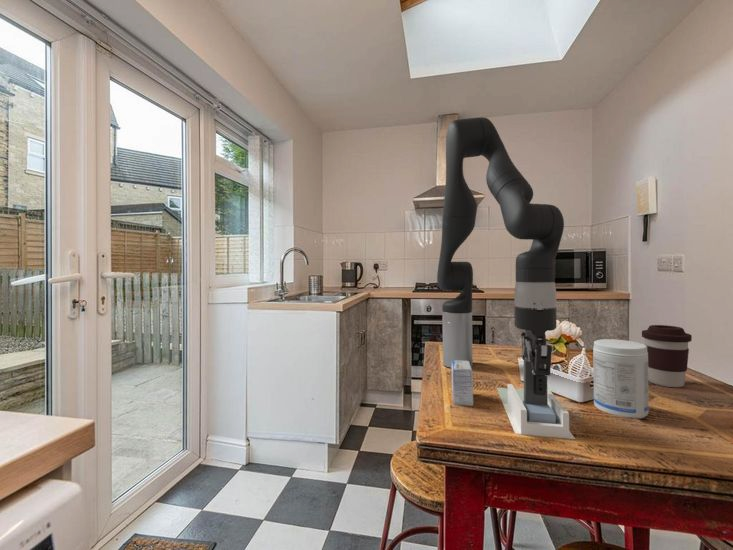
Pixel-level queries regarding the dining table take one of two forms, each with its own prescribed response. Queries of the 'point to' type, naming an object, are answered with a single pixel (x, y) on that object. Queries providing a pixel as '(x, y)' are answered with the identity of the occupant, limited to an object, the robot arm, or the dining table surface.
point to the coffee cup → (667, 354)
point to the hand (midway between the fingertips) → (535, 388)
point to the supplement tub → (621, 377)
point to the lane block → (536, 400)
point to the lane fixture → (518, 420)
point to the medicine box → (462, 383)
